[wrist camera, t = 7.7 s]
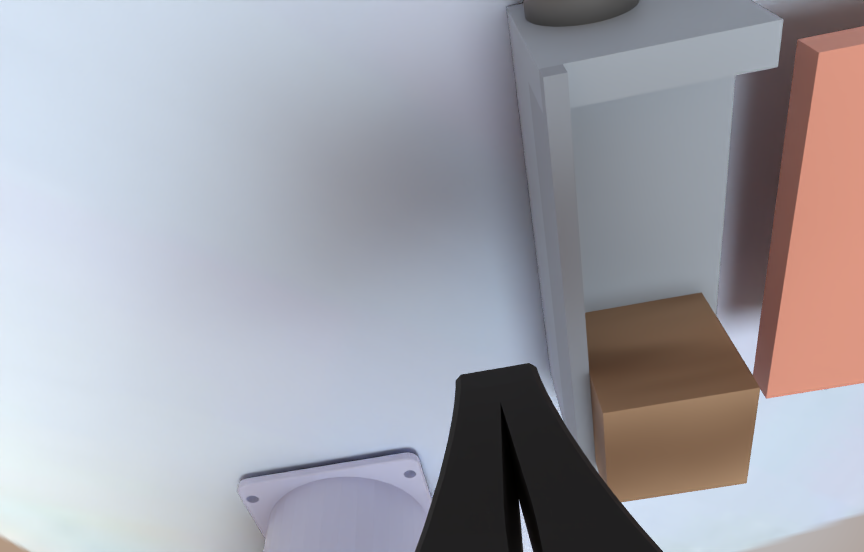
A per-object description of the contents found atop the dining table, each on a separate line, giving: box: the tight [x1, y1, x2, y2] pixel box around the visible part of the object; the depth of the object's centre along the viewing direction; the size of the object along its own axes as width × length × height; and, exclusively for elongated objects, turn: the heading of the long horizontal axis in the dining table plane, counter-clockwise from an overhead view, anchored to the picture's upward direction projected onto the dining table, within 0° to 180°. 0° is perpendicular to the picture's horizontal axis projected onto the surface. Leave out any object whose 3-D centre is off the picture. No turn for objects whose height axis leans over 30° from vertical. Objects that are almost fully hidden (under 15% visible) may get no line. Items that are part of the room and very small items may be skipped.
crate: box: [585, 292, 760, 502], centre depth 20 cm, size 4×4×4 cm
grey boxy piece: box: [506, 0, 784, 473], centre depth 20 cm, size 16×5×6 cm, turn 11°
